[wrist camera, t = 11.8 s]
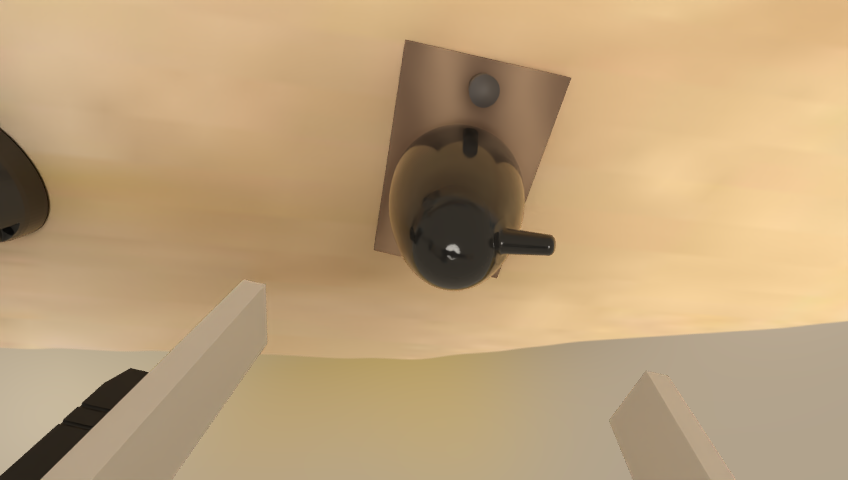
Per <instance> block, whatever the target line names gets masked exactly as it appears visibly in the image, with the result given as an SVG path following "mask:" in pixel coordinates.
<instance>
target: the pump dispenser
mask: <svg viewBox="0 0 848 480" xmlns="http://www.w3.org/2000/svg"><path fill="white" fill-rule="evenodd" d="M524 204H525V196H524V184H523V178H522V174H521V171H520V168H519V165H518V163H517V161H516V159H515V157H514V155H513V154H512V152H511V151H510V149H509V148H508V147H507V146H506V145H505V144H504V143H503V142H502V141H501V140H500V139H499V138H497V137H496V136H495V135H493V134H492V133H490V132H488V131H486V130H484V129H481V128H478V127H475V126H470V125H463V124H453V125H446V126H441V127H438V128H435V129H432V130H430V131H428V132H426V133H424V134H423V135H421V136H420V137H418V138H417V139H416V140H415V141H413V142H412V143H411V144H410V145H409V147H408V148H407V149H406V150H405V152H404V153H403V154H402V156H401V158H400V159H399V161H398V163H397V165H396V168H395V170H394V173H393V177H392V181H391V186H390V193H389V218H390V224H391V229H392V233H393V236H394V239H395V242H396V244H397V247H398V249H399V251H400V253H401V255H402V257H403V258H404V260H405V262H406V263H407V265H408V266H409V267H410V269H411V270H412V271H413V272H414V273H415V274H416V275H417V276H418V277H419V278H420V279H422V280H423V281H425V282H426V283H428V284H429V285H431V286H434V287H436V288H439V289H443V290H449V291H459V290H465V289H469V288H472V287H475V286H477V285H479V284H481V283H483V282H484V281H486V280H487V279H488V278H490V277H491V276H492V275H493V274H494V273H495V272H496V271H497V270H498V269H499V268H500V267H501V265H502V264H503V263H504V261H505V260H506V258H507V257H508V255H509V254H512V255H547V256H549V255H552V254H553V253H554V251H555V247H556V241H555V238H554V237H553V236H552V235H548V234H542V233H535V232H528V231H521V230H520V228H521V225H522V220H523V215H524Z"/></svg>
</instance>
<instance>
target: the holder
mask: <svg viewBox="0 0 848 480" xmlns="http://www.w3.org/2000/svg"><path fill="white" fill-rule="evenodd" d="M570 80H571V78H570V77H566V76H561V75H557V74H552V73H548V72H544V71H539V70H535V69H531V68H526V67H522V66H518V65H513V64H509V63H505V62H500V61H496V60H492V59H487V58H483V57H478V56H474V55H470V54H465V53H461V52H457V51H452V50H448V49H444V48H439V47H435V46H431V45H426V44H422V43H418V42H413V41H409V40H405V46H404V52H403V59H402V66H401V72H400V79H399V85H398V92H397V99H396V105H395V112H394V119H393V125H392V132H391V139H390V145H389V152H388V158H387V165H386V172H385V178H384V185H383V192H382V198H381V205H380V211H379V218H378V225H377V231H376V238H375V245H374V250H376V251H380V252H384V253H389V254H393V255H398V256H402V255H401V253H400V251H399V249H398V247H397V244H396V242H395V239H394V236H393V233H392V229H391V224H390V218H389V193H390V186H391V181H392V177H393V173H394V170H395V168H396V165H397V163H398V161H399V159H400V158H401V156H402V154H403V153H404V152H405V150H406V149H407V148H408V147H409V145H410V144H411V143H412V142H413V141H415V140H416V139H417V138H418V137H420V136H421V135H423V134H424V133H426V132H428V131H430V130H432V129H435V128H438V127H441V126H446V125H453V124H463V125H470V126H475V127H478V128H481V129H484V130H486V131H488V132H490V133H492V134H493V135H495V136H496V137H497V138H499V139H500V140H501V141H502V142H503V143H504V144H505V145H506V146H507V147H508V148H509V149H510V151H511V152H512V154H513V155H514V157H515V159H516V161H517V163H518V165H519V168H520V171H521V174H522V178H523V184H524V196H525V201H526V199H527V196H528V193H529V191H530V188H531V185H532V182H533V180H534V177H535V174H536V172H537V169H538V166H539V164H540V161H541V158H542V155H543V153H544V150H545V147H546V145H547V142H548V139H549V137H550V134H551V131H552V128H553V126H554V123H555V120H556V118H557V115H558V112H559V110H560V107H561V104H562V102H563V99H564V96H565V93H566V91H567V88H568V85H569V83H570ZM501 266H502V265H501ZM500 269H501V267H500V268H499V269H498V270H497V271H496V272H495V273H494V274H493V275H492V276H491V277H494V278H497V277H498V274H499V271H500Z"/></svg>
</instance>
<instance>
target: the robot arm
mask: <svg viewBox="0 0 848 480" xmlns="http://www.w3.org/2000/svg"><path fill="white" fill-rule="evenodd" d="M47 213H48V201H47V196H46V192H45V189H44V186H43V184H42V181H41V179H40V177H39V175H38V173H37V172H36V170H35V168H34V167H33V165H32V164H31V162H30V161H29V160H28V158H27V157H26V156H25V154H24V153H23V152H22V151H21V150H20V149H19V147H18V146H17V145H16V144H15V143H14V142H13V141H12V140H11V139H10V138H9V137H8V136H7V135H6V134H4V133H3V132H2V131H1V130H0V242H6V241H10V240H13V239H16V238H19V237H21V236H24V235H26V234H29V233H31V232H34V231H36V230H37V229H39V228H40V227H41V226H42V225H43V223H44V222H45V220H46V217H47ZM266 344H267V315H266V284H262V283H258V282H253V281H249V280H244V279H243V280H242V281H241V282H240V283H239V284H238V285H237V286H236V287H235V288H234V289H233V290H232V291H231V292H230V293H229V294H228V295H227V296H226V297H225V298H224V299H223V300H222V301H221V302H220V303H219V304H218V305H217V306H216V307H215V308H214V309H213V310H212V311H211V312H210V313H209V314H208V315H207V316H206V317H205V318H204V319H203V320H202V321H201V322H200V323H199V324H198V325H197V326H196V327H195V328H193V329H192V330H191V331H190V332H189V333H188V334H187V335H186V336H185V337H184V338H183V339H182V340H181V341H180V342H179V343H178V344H177V345H176V346H175V347H174V348H173V349H172V350H171V351H170V352H169V353H168V354H167V355H166V356H165V357H164V358H163V359H162V360H161V361H160V362H159V363H158V364H157V365H156V366H155V367H154V368H153V369H152V370H151V371H150V372H145V371H141V370H136V369H132V368H130V369H128V370H127V371H125V372H123V373H121V374H119V375H118V376H116V377H114V378H112V379H111V380H109V381H107V382H105V383H104V384H103V385H101V386H100V387H99V388H98V389H97V390H96V391H95V392H94V393H93V394H91V395H90V396H89V397H88V398H87V399H86V400H85V401H84V402H83V403H82V405H81V406H80V407H77V408H76V409H75V410H74V411H72V412H71V413H70V414H69V415H68V416H67V417H66V418H65V419H64V420H63V422H62V423H61V424H58V425H57V426H56V427H55V428H54V429H52V430H51V431H50V432H49V433H48V434H47V435H46V436H44V437H43V438H42V439H41V440H40V441H39V442H38V443H37V444H36V445H34V446H33V447H32V448H31V449H30V450H29V451H28V452H27V453H25V454H24V455H23V456H22V457H21V458H20V459H19V460H18V461H16V462H15V463H14V464H13V465H12V466H11V467H10V468H9V469H8V470H6V471H5V472H4V473H3V474H2V475H1V476H0V480H172V479H173V478H174V476H175V475H176V473H177V472H178V470H179V469H180V467H181V466H182V464H183V463H184V462H185V460H186V459H187V458H188V456H189V454H190V453H191V452H192V450H193V449H194V447H195V446H196V445H197V443H198V442H199V440H200V439H201V437H202V436H203V435H204V433H205V432H206V430H207V429H208V427H209V426H210V425H211V423H212V422H213V420H214V419H215V417H216V415H217V414H218V413H219V412H220V410H221V409H222V407H223V406H224V404H225V403H226V401H227V400H228V399H229V397H230V396H231V394H232V393H233V391H234V390H235V389H236V387H237V386H238V384H239V383H240V382H241V380H242V379H243V377H244V375H245V374H246V373H247V372H248V370H249V369H250V367H251V366H252V364H253V363H254V361H255V360H256V359H257V357H258V356H259V354H260V353H261V351H262V350H263V349H264V347H265V346H266ZM609 422H610V424H611V427H612V429H613V432H614V434H615V437H616V439H617V442H618V444H619V446H620V449H621V451H622V454H623V456H624V459H625V461H626V464H627V466H628V469H629V471H630V474H631V476H632V478H633V480H736V479H735V477H734V476H733V474H732V473H731V471H730V470H729V468H728V467H727V465H726V464H725V462H724V461H723V459H722V457H721V456H720V455H719V453H718V451H717V450H716V448H715V447H714V445H713V444H712V442H711V441H710V439H709V438H708V436H707V434H706V433H705V431H704V430H703V428H702V427H701V425H700V424H699V422H698V421H697V419H696V418H695V416H694V415H693V413H692V412H691V410H690V408H689V407H688V405H687V404H686V402H685V401H684V399H683V398H682V396H681V395H680V393H679V392H678V390H677V389H676V387H675V385H674V384H673V382H672V381H671V379H670V378H669V376H667V375H662V374H658V373H654V372H649V371H645V373H644V374H643V375H642V377H641V378H640V379H639V381H638V382H637V383H636V385H635V386H634V388H633V389H632V390H631V392H630V393H629V394H628V396H627V397H626V398H625V400H624V401H623V402H622V404H621V405H620V406H619V408H618V409H617V410H616V412H615V413H614V414H613V416H612V417H611V418H610V420H609Z"/></svg>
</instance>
